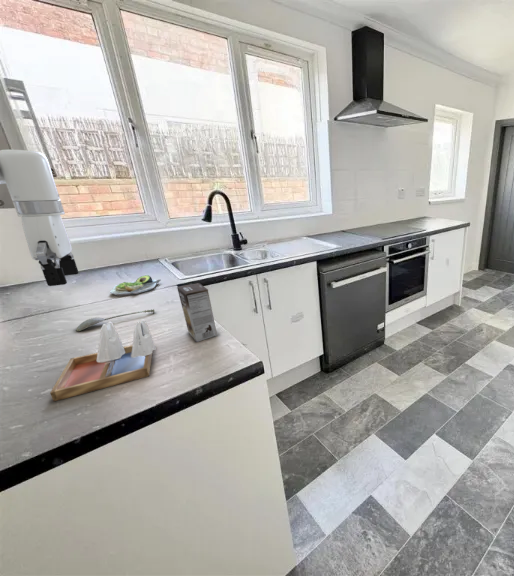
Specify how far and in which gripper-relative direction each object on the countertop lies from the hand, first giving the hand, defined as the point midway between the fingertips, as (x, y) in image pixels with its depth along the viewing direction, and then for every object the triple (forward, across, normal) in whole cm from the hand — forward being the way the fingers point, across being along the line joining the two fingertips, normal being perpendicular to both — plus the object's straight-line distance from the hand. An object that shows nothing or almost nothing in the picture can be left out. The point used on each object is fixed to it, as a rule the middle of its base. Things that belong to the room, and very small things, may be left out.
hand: (64, 279), depth 76 cm
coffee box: (+24, -4, +26) cm, 36 cm away
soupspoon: (+24, -32, +1) cm, 40 cm away
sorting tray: (+24, +6, +5) cm, 26 cm away
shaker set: (+22, +6, +9) cm, 25 cm away
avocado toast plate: (+24, -71, +2) cm, 75 cm away
